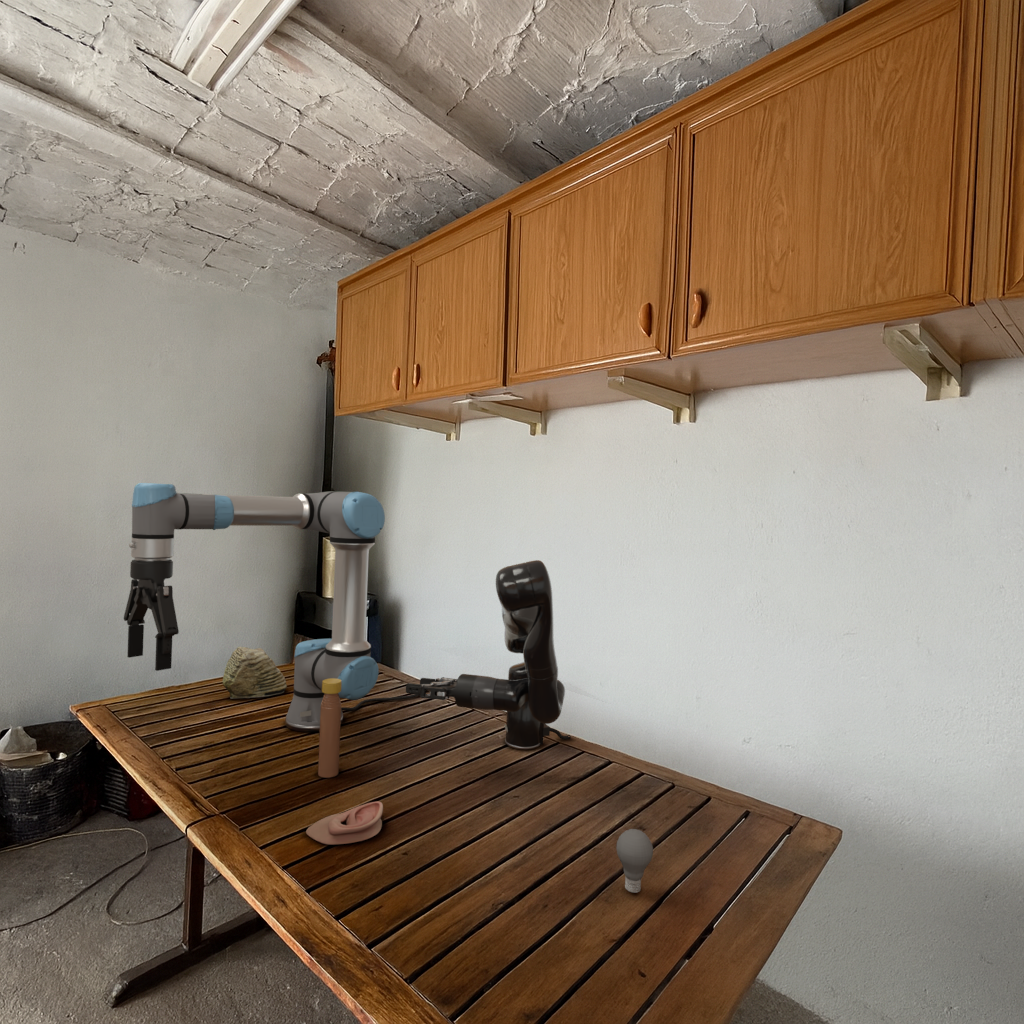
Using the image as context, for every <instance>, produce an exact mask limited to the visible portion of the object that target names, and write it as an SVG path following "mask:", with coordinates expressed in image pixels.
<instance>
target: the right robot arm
mask: <svg viewBox="0 0 1024 1024" xmlns="http://www.w3.org/2000/svg"><path fill="white" fill-rule="evenodd" d="M495 590H496V595H497V598H498V601H499V603H500V607H501V617H502V621H503V626H504V645H505V648H506V650H507V651H508V652H510V653H512V654H513V653H514V654H522V656H523V661H522V662H519V663H516V664H513V665H511V666H510V667H509V669H508V672H507V673H508V675H507V676H508V677H507V679H505V678H498V677H493V676H488V675H479V674H469V673H461V674H460V675H459V676H458V678H452V677H451V678H450V677H444V676H443V677H440V678H439V677H437V678H431V677H430V678H429V677H421V678H420V679H419V683H413V682H409V683H406V685H405V693H406V694H409V695H414V694H419V695H420V696H419V698H421V699H430V700H440V701H445V700H449V699H450V698H454V701H455V705H456V707H458V708H466V709H474V710H483V711H501V712H503V711H504V712H506V719H505V720H506V721H505V722H506V723H504V729H505V738H504V743H505V745H506V746H507V747H509V748H512V749H515V750H523V751H524V750H525V751H526V750H528V751H529V750H535V749H537V748H539V747H540V746H543V745H544V738H545V737H549V736H550V735H551V734H550V733H554V734H555V735H556V736H557V737H558V738H559V739H560V740H563V741H567V740H568V741H569V740H571V739H572V737H571V735H570V734H567V735H562V733H561V732H560V731H559V730H558V729H556V728H554V727H551V726H549V724H553V723H554V722H556V721H557V720H558V719H559V717H560V716H561V714H562V709H563V704H564V700H565V696H566V687H565V685H564V684H563V682H562V681H561V680H559V679H558V678H559V666H558V661H557V655H556V650H555V649H556V648H555V638H554V599H553V588H552V581H551V578H550V573H549V571H548V568H547V566H546V564H545V562H543V561H542V560H538V559H536V560H535V559H534V560H529V561H525V562H521V563H516V564H512V565H508V566H507V565H506V566H504V567H503V568H500V569H499V570H498V571H497V573H496V576H495ZM426 689H428V690H429V692H427V691H428V690H426ZM568 736H570V737H568Z"/></svg>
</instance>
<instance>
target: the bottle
mask: <svg viewBox="0 0 1024 1024" xmlns="http://www.w3.org/2000/svg"><path fill="white" fill-rule="evenodd" d="M341 707H342V701H341V698H340V697H339V694H338V693H336V694H325V695H324V696H323V700H322V702H321V709H320V731H319V736H318V738H319V739H318V761H317V762H318V763H317V775H318V776H319V777H321V778H323V779H324V778H327V779H328V778H334V777H336V776H338V775H339V773H340V749H341V726H342V723H341Z"/></svg>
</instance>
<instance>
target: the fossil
mask: <svg viewBox="0 0 1024 1024" xmlns="http://www.w3.org/2000/svg"><path fill="white" fill-rule="evenodd" d="M222 676H223V677H222V685H223V687H224V688H225V690H226V691H228V693H229V698H230V699H250V698H264V697H271V696H275V695H281V694H284V693H285V691H286V689H287V687H288V686H287V680H286V678H285V676H284V674H283V673H282V672H281V669H279V668H278V667H277V665H276V663H275V662H274V660H273V659H272V658H271V657H270V656H269V655H268V654H267V653H266V652H265V650H264V649H263V648H260V647H258V648H251V647H247V646H246V647H245V646H238V647H237V648H236V649H235V650H233V651H232V653H231V656H230V657H229V659H228V660H227V663H226V666H225V668H224V671H223V675H222Z"/></svg>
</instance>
